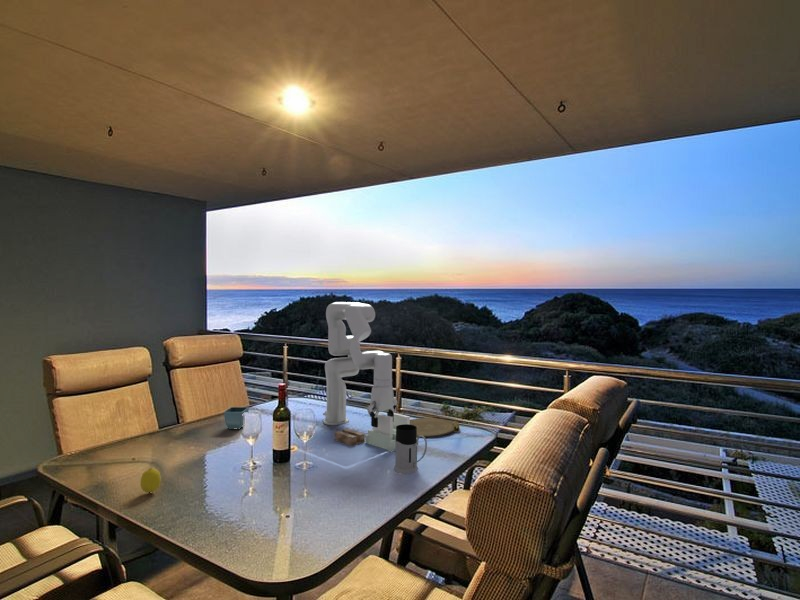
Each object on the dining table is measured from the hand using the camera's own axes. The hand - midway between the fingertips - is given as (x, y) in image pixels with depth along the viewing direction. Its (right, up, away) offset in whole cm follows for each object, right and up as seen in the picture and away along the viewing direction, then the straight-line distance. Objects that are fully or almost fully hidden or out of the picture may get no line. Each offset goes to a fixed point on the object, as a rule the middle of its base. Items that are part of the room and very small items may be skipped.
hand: (382, 424), depth 179 cm
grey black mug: (+11, -10, -25) cm, 29 cm away
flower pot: (-70, -9, +23) cm, 74 cm away
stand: (-14, -9, +5) cm, 18 cm away
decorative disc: (+20, -10, +25) cm, 34 cm away
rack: (+4, -9, +4) cm, 11 cm away
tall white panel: (0, -8, 0) cm, 8 cm away
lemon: (-71, -9, -44) cm, 84 cm away
